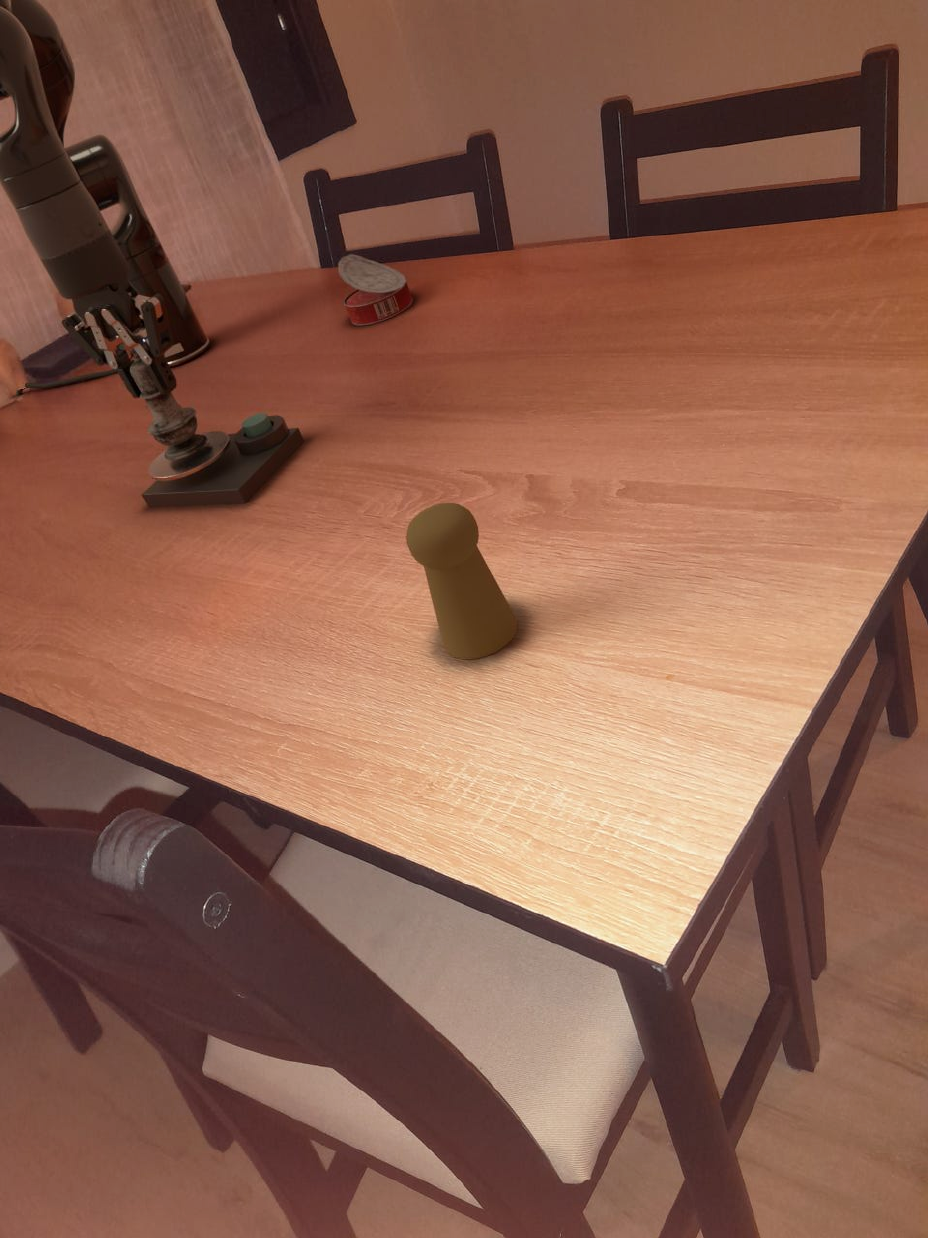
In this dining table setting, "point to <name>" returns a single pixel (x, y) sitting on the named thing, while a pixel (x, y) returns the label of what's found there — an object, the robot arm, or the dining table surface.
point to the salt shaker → (167, 416)
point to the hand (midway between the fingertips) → (155, 392)
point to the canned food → (373, 290)
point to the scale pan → (190, 459)
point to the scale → (231, 470)
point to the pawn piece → (460, 582)
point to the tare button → (256, 425)
